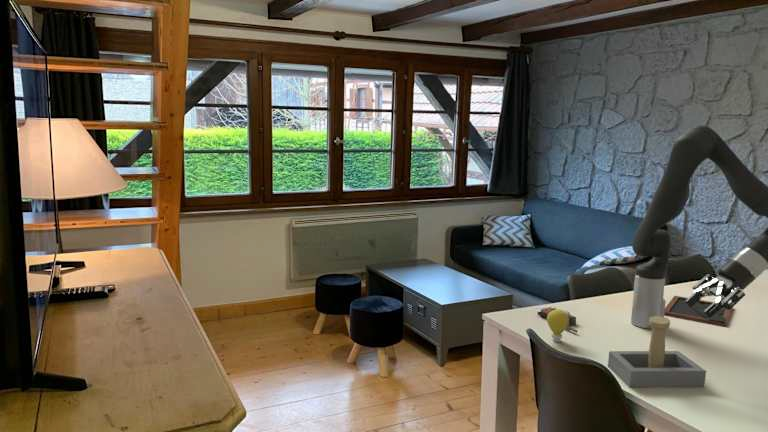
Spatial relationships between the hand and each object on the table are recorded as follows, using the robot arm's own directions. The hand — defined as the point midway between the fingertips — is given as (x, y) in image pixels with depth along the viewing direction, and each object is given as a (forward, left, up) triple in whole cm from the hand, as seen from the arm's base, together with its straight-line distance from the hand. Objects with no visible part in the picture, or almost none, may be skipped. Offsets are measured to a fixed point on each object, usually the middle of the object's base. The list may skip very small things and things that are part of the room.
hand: (696, 309), depth 151 cm
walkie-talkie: (+21, -41, -20) cm, 50 cm away
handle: (+10, 0, -18) cm, 20 cm away
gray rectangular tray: (+10, 0, -19) cm, 21 cm away
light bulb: (+28, -26, -19) cm, 43 cm away
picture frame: (-35, -54, -20) cm, 67 cm away
